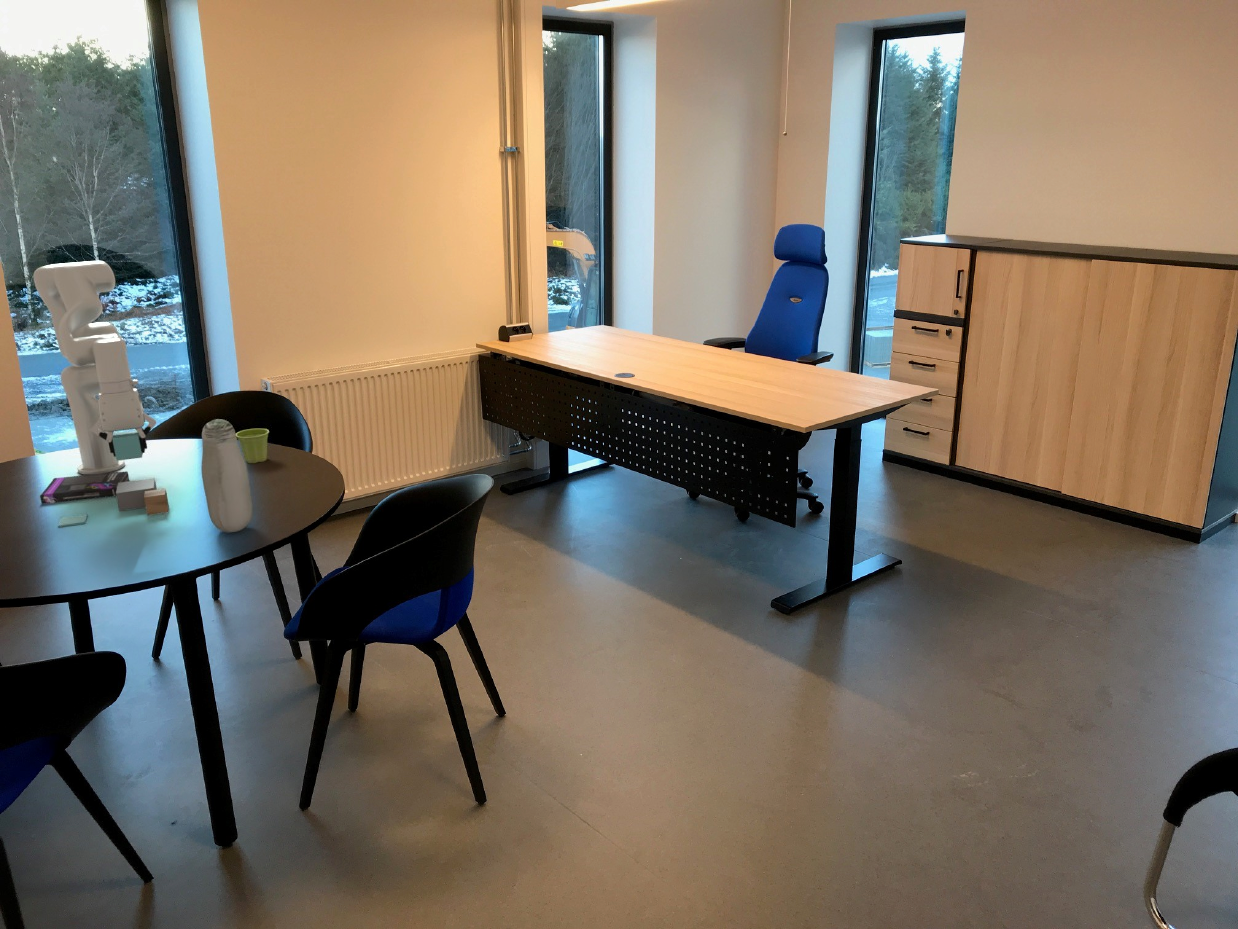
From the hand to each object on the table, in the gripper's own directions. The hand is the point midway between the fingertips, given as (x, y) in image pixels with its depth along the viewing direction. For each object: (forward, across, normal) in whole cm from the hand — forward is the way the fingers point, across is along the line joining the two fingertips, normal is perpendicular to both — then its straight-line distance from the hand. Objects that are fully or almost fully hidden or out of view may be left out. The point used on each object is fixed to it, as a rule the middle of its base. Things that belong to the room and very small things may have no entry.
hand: (129, 452), depth 261 cm
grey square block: (+14, 0, 0) cm, 14 cm away
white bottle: (+15, -23, +32) cm, 42 cm away
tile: (+14, +15, +7) cm, 22 cm away
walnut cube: (+14, -5, +8) cm, 17 cm away
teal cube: (+1, 0, 0) cm, 1 cm away
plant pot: (+14, -31, -25) cm, 42 cm away
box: (+15, +14, -17) cm, 27 cm away
